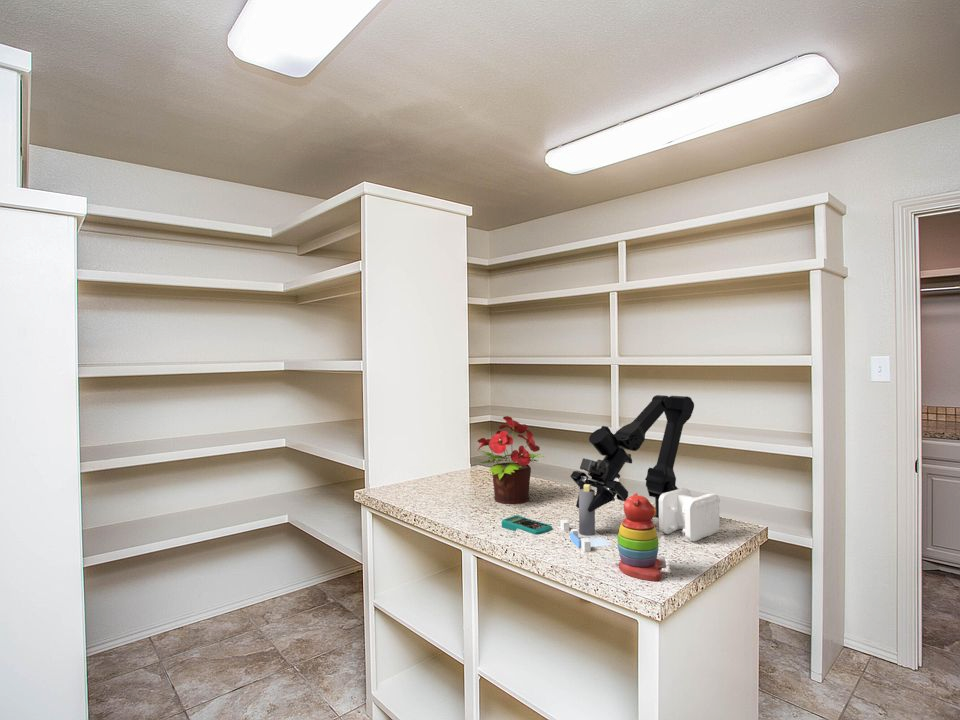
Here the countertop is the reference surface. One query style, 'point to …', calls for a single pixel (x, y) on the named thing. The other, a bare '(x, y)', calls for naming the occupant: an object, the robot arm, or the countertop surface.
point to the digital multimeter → (525, 525)
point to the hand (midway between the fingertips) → (582, 509)
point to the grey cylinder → (586, 511)
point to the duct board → (583, 542)
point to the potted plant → (510, 464)
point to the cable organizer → (689, 513)
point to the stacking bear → (639, 540)
